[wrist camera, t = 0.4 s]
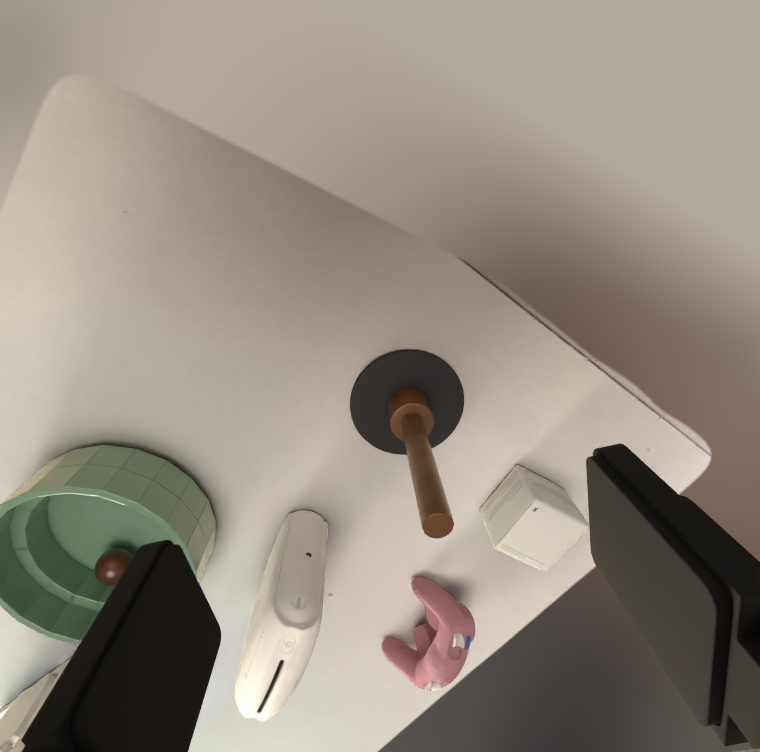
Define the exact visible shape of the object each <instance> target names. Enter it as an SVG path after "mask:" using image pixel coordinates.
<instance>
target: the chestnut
mask: <svg viewBox="0 0 760 752" xmlns="http://www.w3.org/2000/svg"><path fill="white" fill-rule="evenodd" d="M133 557H134V555H133V553H132V552H131V551H130V550H128V549H126V548H122V547H116V548H112V549H109V550H107V551H106V552H104V553H103V554H102V555H101V556H100V557H99V558H98V560H97V562H96V564H95V569H94V572H95V576H96V578H97V580H98V581H99V582H100V583H101V584H103V585H106V586H116V584H117V583H118V581H119V579H120V578H121V576H122V575H123V573H124V571H125V570H126V568H127V566H128V565H129V563H130V562H131V560H132V558H133Z"/></svg>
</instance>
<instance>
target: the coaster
mask: <svg viewBox="0 0 760 752" xmlns="http://www.w3.org/2000/svg"><path fill="white" fill-rule="evenodd" d="M405 387H411V388H416V389H418V390H420V391H421V392H422V393H423V394H424V395H425V396H426V398H427V401H428V404H429V407H430V409H431V412H432V415H433V419H434V424H433V428H432V430H431V432H430V433H429V434H428V435H427V436H428V440H429V443H430V446H431V448H433V447H435V446H437V445H439V444H440V443H441V442H443V441H444V440H445V439H446V438H447V437H448V436H449V435H450V434H451V433H452V432H453V431H454V429H455V428H456V426H457V425H458V423H459V420H460V418H461V415H462V412H463V407H464V394H463V389H462V385H461V383H460V381H459V378H458V376H457V375H456V373H455V372H454V370H453V369H452V368H451V367H450V366H449V365H448V364H447V363H446V362H445V361H443V360H442V359H440V358H439V357H437V356H435V355H433V354H430V353H427V352H424V351H418V350H400V351H395V352H391V353H389V354H386V355H383V356H381V357H379V358H378V359H376V360H375V361H373V362H372V363H370V364H369V365H368V366H367V367H366V368H365V369H364V370H363V371H362V372H361V374H360V375H359V377H358V378H357V380H356V382H355V384H354V387H353V389H352V393H351V399H350V409H351V416H352V420H353V422H354V425H355V427H356V428H357V430H358V432H359V433H360V434H361V436H362V437H363V438H364V439H365V440H366V441H367V442H369V443H370V444H371V445H373V446H375V447H376V448H378V449H380V450H383V451H385V452H389V453H393V454H404V455H407V451H406V446H405V441H402V440H400V439H398V438H397V437H396V436H395V435H394V434H393V432H392V431H391V428H390V422H389V416H388V409H387V404H388V400H389V398H390V397H391V395H392V394H393V393H394V392H395V391H397V390H399V389H401V388H405Z"/></svg>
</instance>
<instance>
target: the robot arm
mask: <svg viewBox="0 0 760 752" xmlns="http://www.w3.org/2000/svg"><path fill="white" fill-rule="evenodd" d="M586 467H587V486H588V505H589V524H590V543H591V553H592V557H593V560H594V562H595V564H596V566H597V568H598V569H599V571H600V572H601V574H602V575H603V577H604V579H605V580H606V582H607V583H608V585H609V586H610V588H611V589H612V591H613V592H614V594H615V596H616V597H617V599H618V600H619V602H620V603H621V605H622V606H623V608H624V609H625V611H626V612H627V614H628V615H629V617H630V618H631V620H632V621H633V623H634V625H635V626H636V627H637V629H638V631H639V632H640V634H641V635H642V637H643V638H644V640H645V641H646V643H647V645H648V646H649V647H650V649H651V651H652V652H653V654H654V655H655V657H656V658H657V660H658V661H659V663H660V664H661V666H662V667H663V669H664V671H665V672H666V674H667V675H668V677H669V678H670V680H671V681H672V683H673V684H674V686H675V687H676V689H677V691H678V692H679V693H680V695H681V697H682V698H683V700H684V701H685V703H686V704H687V706H688V707H689V709H690V710H691V712H692V713H693V715H694V716H695V718H696V719H697V720H698V722H699V723H700V724H702V725H703V726H708V725H711V727H712V728H713V730H714V731H715V733H716V734H717V736H718V737H719V739H720V740H721V741H722V743H723V744H724V746H729V745H734V744H740V743H745V742H749V743H750V744H751V746H752V747H753V749H751V750H741V751H732V752H760V562H759V561H758V560H757V559H756V558H754V556H752V555H751V554H750V553H749V552H748V551H747V550H746V549H745V548H743V547H742V546H741V545H740V544H739V543H738V542H737V541H736V540H735V539H734V538H732V537H731V536H730V535H729V534H728V533H727V532H726V531H725V530H724V529H723V528H721V527H720V526H719V525H718V524H717V523H716V522H715V521H714V520H713V519H711V518H710V517H709V516H708V515H707V514H706V513H705V512H704V511H703V510H701V509H700V508H699V507H698V506H697V505H696V504H695V503H694V502H692V501H691V500H690V499H688V498H687V497H684V496H681V495H678V494H677V493H676V492H675V491H674V490H673V489H672V488H671V487H670V486H669V485H667V484H666V483H665V482H664V481H663V480H662V479H661V478H660V477H659V476H658V475H657V474H656V473H654V472H653V471H652V470H651V469H650V468H649V467H648V466H647V465H646V464H645V463H644V462H643V461H641V460H640V459H639V458H638V457H637V456H636V455H635V454H634V453H633V452H632V451H631V450H630V449H628V448H627V447H626V446H625V445H623V444H616V445H611V446H607V447H602V448H597V449H595V450H594V452H593V456H592V457H588V458H587V460H586ZM220 642H221V630H220V626H219V624H218V622H217V620H216V618H215V616H214V614H213V611H212V609H211V607H210V605H209V603H208V601H207V599H206V597H205V595H204V593H203V591H202V589H201V587H200V585H199V583H198V581H197V578H196V576H195V574H194V572H193V570H192V568H191V566H190V564H189V562H188V560H187V558H186V556H185V554H184V552H183V550H182V548H181V546H180V545H178V544H175V545H174V544H173V542H172V541H170V540H163V541H158V542H153V543H149V544H144V545H142V546H140V548H139V549H138V550H137V552H136V553H135V555H134V557H133V558H132V560H131V562H130V563H129V565H128V566H127V568H126V570H125V571H124V573H123V575H122V576H121V578H120V579H119V581H118V583H117V584H116V586H115V588H114V589H113V591H112V592H111V594H110V596H109V597H108V599H107V601H106V602H105V604H104V605H103V607H102V609H101V610H100V612H99V614H98V615H97V617H96V619H95V620H94V622H93V623H92V625H91V627H90V628H89V630H88V632H87V633H86V635H85V636H84V638H83V640H82V641H81V643H80V645H79V646H78V648H77V649H76V651H75V653H74V654H73V656H72V658H71V659H70V661H69V662H68V664H67V666H66V667H65V669H64V671H63V672H62V674H61V676H60V677H59V679H58V680H57V682H56V684H55V685H54V687H53V689H52V690H51V692H50V693H49V695H48V697H47V698H46V700H45V702H44V703H43V705H42V706H41V708H40V710H39V711H38V713H37V715H36V716H35V718H34V719H33V721H32V723H31V724H30V726H29V728H28V729H27V731H26V732H25V734H24V736H23V737H22V739H21V741H22V742H23V744H24V745H25V747H24V748H23V750H22V752H188V749H189V746H190V743H191V739H192V736H193V733H194V729H195V726H196V723H197V719H198V716H199V713H200V709H201V706H202V703H203V699H204V696H205V693H206V689H207V686H208V683H209V679H210V676H211V673H212V669H213V666H214V663H215V659H216V656H217V653H218V649H219V646H220Z"/></svg>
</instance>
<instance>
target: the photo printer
mask: <svg viewBox="0 0 760 752" xmlns="http://www.w3.org/2000/svg"><path fill="white" fill-rule="evenodd" d="M327 541H328V523H326V522H324V519H323V518H322V517H321V516H320V515H318V514H316V513H314V512H312V511H307V510H300V511H296V512H294V513H290V514H289V515H288V516H287V518H286V519H285V521H284V523H283V525H282V527H281V529H280V531H279V534H278V536H277V538H276V541H275V543H274V545H273V548H272V551H271V553H270V556H269V558H268V561H267V564H266V566H265V569H264V572H263V575H262V578H261V581H260V584H259V588H258V592H257V596H256V599H255V603H254V608H253V612H252V616H251V620H250V624H249V628H248V632H247V637H246V641H245V645H244V649H243V653H242V658H241V662H240V666H239V670H238V674H237V678H236V684H235V698H236V703H237V706H238V708H239V710H240V712H241V713H242V714H243V715H244V716H245V717H246V718H257V719H258V720H260V721H265V720H267V719H269V718H270V717H272V716H273V715H275V714H276V713H277V712H278V711H279V710H280V709H281V708H282V707H283V706H284V705H285V703H286V702H287V701H288V699H289V698H290V696H291V695H292V693H293V692H294V690H295V688H296V687H297V685H298V683H299V681H300V679H301V677H302V675H303V673H304V670H305V668H306V666H307V664H308V661H309V659H310V656H311V654H312V651H313V648H314V646H315V643H316V640H317V636H318V632H319V628H320V624H321V617H322V607H323V593H324V580H325V566H326V553H327Z"/></svg>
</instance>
